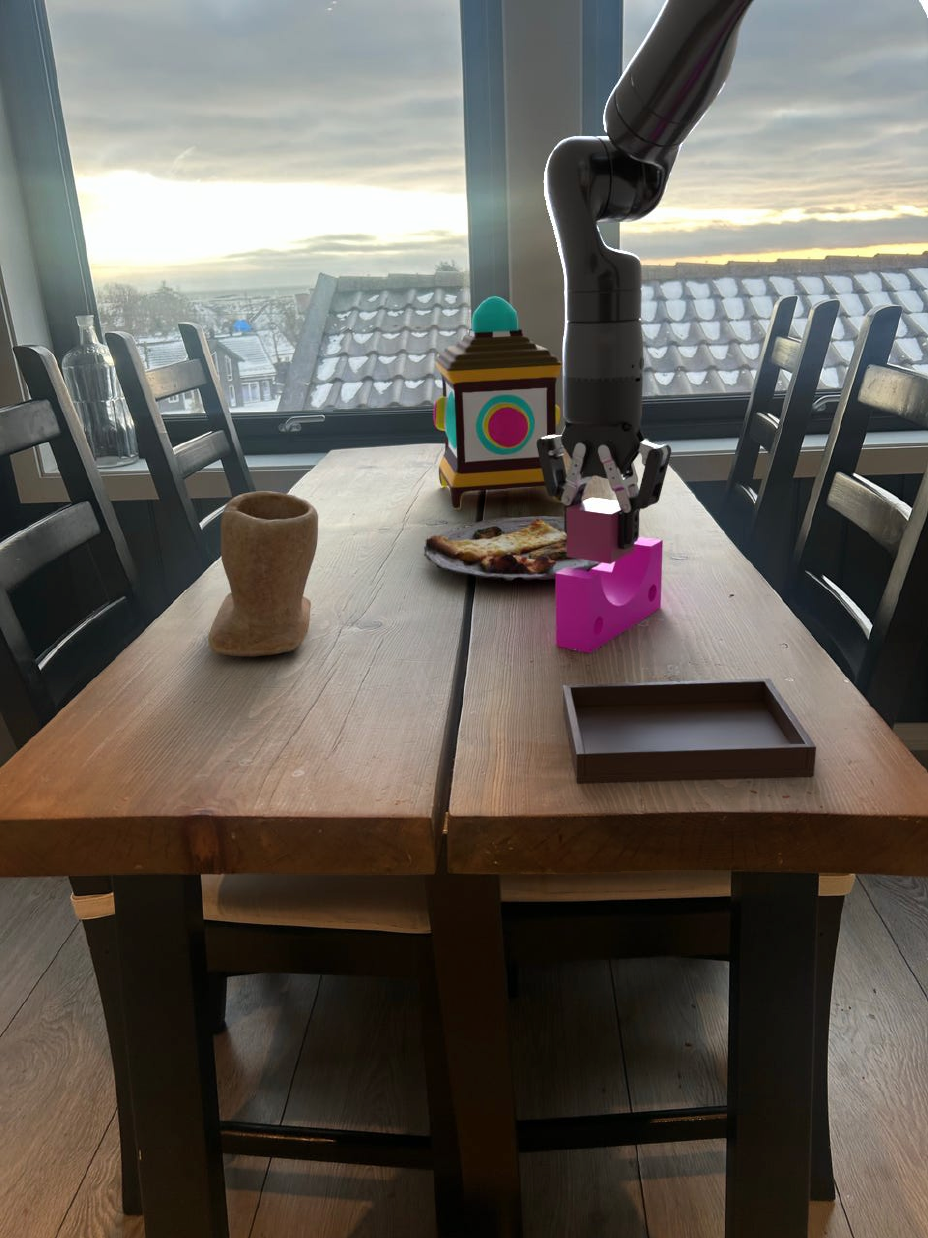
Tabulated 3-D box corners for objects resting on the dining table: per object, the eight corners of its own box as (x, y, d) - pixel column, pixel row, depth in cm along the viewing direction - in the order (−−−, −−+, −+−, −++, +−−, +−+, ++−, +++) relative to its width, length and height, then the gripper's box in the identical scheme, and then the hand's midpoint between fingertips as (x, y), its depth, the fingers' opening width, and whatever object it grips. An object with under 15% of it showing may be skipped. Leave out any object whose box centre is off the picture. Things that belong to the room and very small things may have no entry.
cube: (634, 551, 101) (635, 502, 99) (610, 564, 97) (611, 514, 96) (591, 544, 104) (591, 497, 102) (566, 556, 100) (566, 508, 98)
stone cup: (323, 662, 96) (309, 510, 91) (199, 668, 96) (178, 517, 91) (335, 609, 111) (324, 475, 105) (227, 614, 110) (210, 480, 105)
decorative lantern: (575, 504, 151) (575, 295, 140) (445, 513, 148) (435, 302, 138) (547, 476, 169) (545, 290, 159) (430, 484, 167) (421, 296, 157)
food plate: (479, 605, 110) (478, 575, 109) (394, 555, 129) (392, 528, 128) (662, 566, 120) (663, 538, 119) (558, 525, 140) (557, 500, 139)
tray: (767, 704, 84) (769, 678, 83) (813, 776, 73) (816, 747, 72) (562, 710, 84) (562, 684, 84) (576, 783, 73) (576, 754, 72)
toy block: (609, 597, 111) (609, 532, 108) (660, 607, 107) (662, 540, 104) (534, 640, 100) (533, 569, 97) (589, 653, 96) (589, 579, 93)
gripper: (517, 371, 96) (520, 543, 102) (653, 377, 87) (648, 563, 93) (558, 363, 101) (559, 526, 107) (690, 368, 93) (683, 544, 99)
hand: (601, 542), depth 100 cm, fingers closed on cube, 5 cm apart
